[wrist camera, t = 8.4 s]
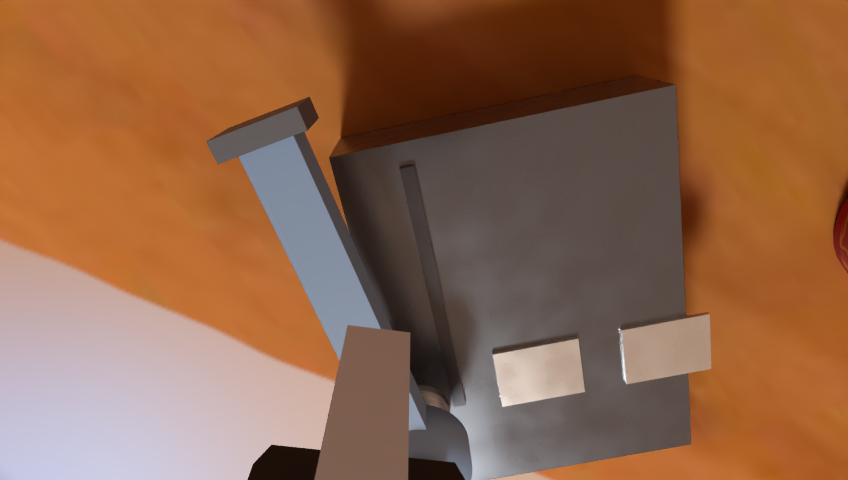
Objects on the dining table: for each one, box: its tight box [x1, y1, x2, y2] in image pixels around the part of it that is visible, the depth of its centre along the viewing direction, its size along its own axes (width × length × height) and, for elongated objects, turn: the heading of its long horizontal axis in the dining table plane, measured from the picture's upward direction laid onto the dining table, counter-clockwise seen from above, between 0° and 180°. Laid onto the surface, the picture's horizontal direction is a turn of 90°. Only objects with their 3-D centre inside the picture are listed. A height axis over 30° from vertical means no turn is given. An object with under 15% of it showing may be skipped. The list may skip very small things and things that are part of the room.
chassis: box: [329, 75, 711, 480], centre depth 26 cm, size 18×16×9 cm
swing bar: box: [207, 97, 472, 480], centre depth 22 cm, size 18×4×2 cm, turn 20°
